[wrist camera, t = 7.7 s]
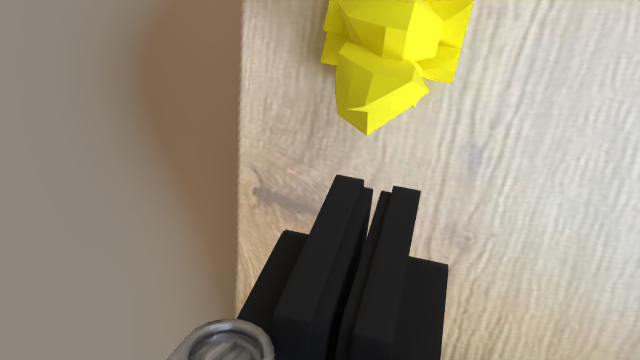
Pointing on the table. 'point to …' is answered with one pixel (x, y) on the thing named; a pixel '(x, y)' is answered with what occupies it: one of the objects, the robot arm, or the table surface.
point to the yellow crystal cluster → (390, 53)
